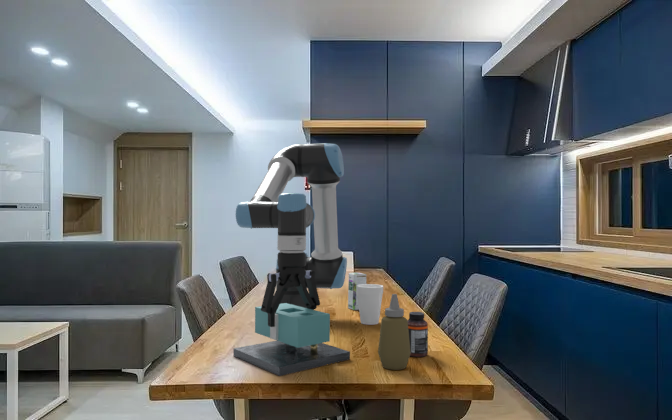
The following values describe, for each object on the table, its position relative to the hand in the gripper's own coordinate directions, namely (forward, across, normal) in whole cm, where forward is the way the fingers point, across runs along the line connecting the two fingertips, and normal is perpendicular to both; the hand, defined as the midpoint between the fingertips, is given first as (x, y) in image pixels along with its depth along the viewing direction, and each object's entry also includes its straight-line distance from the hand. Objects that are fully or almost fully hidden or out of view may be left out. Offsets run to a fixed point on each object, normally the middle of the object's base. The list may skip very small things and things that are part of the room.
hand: (291, 335), depth 132 cm
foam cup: (+6, +47, +19) cm, 51 cm away
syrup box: (+6, +62, +42) cm, 75 cm away
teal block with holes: (0, 0, 0) cm, 0 cm away
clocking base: (+6, 0, 0) cm, 6 cm away
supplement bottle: (+6, +28, -19) cm, 34 cm away
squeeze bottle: (+6, +15, -23) cm, 28 cm away
